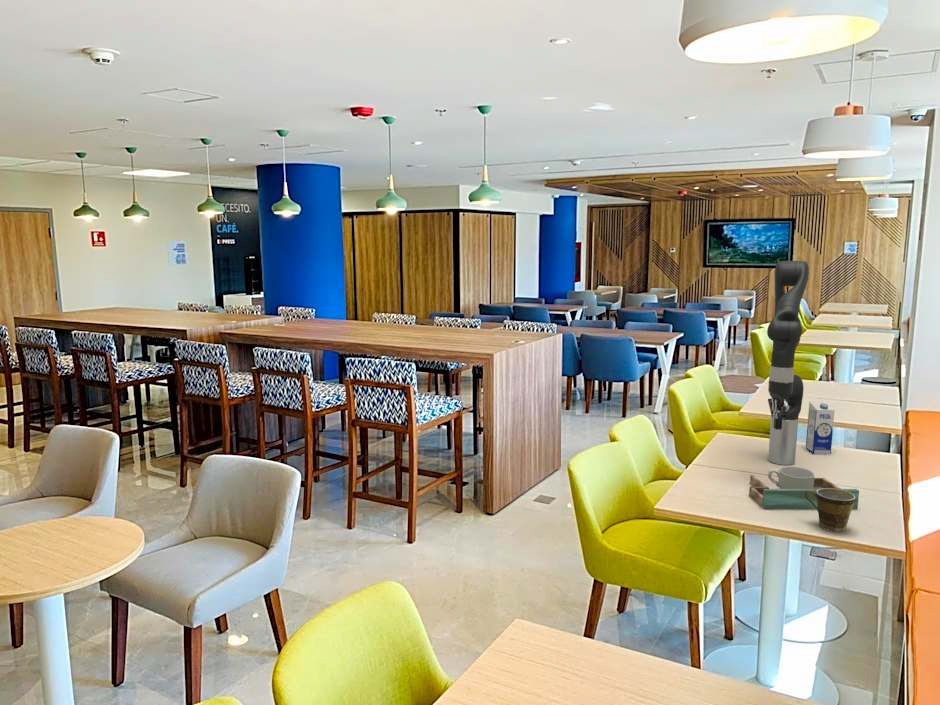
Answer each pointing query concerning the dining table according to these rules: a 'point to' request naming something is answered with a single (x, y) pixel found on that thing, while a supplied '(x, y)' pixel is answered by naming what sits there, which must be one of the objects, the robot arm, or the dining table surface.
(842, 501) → the ceramic cup
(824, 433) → the milk carton
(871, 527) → the dining table surface
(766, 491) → the teal wooden tray
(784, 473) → the teacup
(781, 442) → the robot arm
